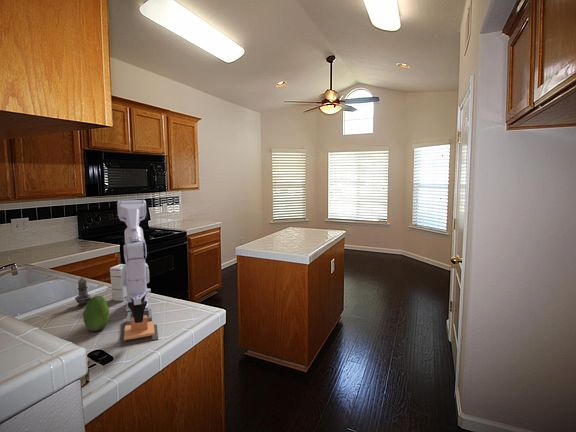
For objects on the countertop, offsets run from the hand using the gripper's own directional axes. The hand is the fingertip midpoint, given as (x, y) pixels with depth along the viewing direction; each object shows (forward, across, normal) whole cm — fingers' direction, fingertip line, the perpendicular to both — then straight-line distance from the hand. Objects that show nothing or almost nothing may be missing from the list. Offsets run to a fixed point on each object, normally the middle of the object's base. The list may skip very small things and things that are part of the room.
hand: (138, 317), depth 107 cm
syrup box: (+7, +38, +7) cm, 39 cm away
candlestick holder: (+7, +36, +21) cm, 42 cm away
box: (+6, +10, 0) cm, 12 cm away
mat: (+6, 0, 0) cm, 6 cm away
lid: (+5, 0, 0) cm, 5 cm away
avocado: (+6, +10, +14) cm, 18 cm away
